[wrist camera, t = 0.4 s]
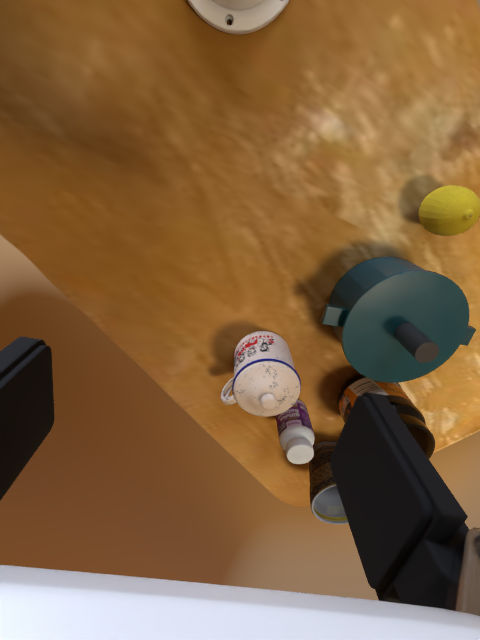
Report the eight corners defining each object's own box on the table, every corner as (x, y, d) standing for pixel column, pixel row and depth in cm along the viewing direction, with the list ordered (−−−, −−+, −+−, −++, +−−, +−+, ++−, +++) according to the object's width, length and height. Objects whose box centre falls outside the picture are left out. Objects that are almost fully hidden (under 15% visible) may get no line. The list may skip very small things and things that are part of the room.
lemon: (398, 219, 42) (433, 230, 35) (424, 176, 40) (466, 178, 33) (433, 235, 43) (474, 249, 36) (460, 194, 41) (509, 200, 34)
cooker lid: (362, 258, 37) (385, 275, 31) (485, 279, 38) (529, 298, 32) (325, 369, 43) (338, 399, 37) (431, 383, 44) (460, 415, 39)
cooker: (325, 245, 43) (343, 261, 36) (461, 268, 45) (504, 287, 38) (299, 337, 49) (311, 366, 42) (420, 354, 51) (451, 385, 44)
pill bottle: (292, 391, 54) (303, 435, 45) (312, 409, 55) (326, 454, 47) (268, 409, 55) (274, 455, 46) (288, 426, 57) (298, 473, 48)
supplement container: (351, 361, 51) (383, 414, 40) (410, 377, 53) (455, 431, 42) (325, 411, 56) (347, 471, 45) (379, 424, 57) (414, 485, 46)
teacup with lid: (270, 317, 48) (280, 360, 37) (301, 360, 51) (318, 410, 40) (206, 357, 51) (198, 408, 40) (239, 395, 54) (240, 451, 43)
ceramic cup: (320, 480, 63) (335, 532, 54) (288, 453, 60) (298, 504, 51) (377, 446, 59) (403, 496, 50) (346, 415, 56) (368, 463, 47)
